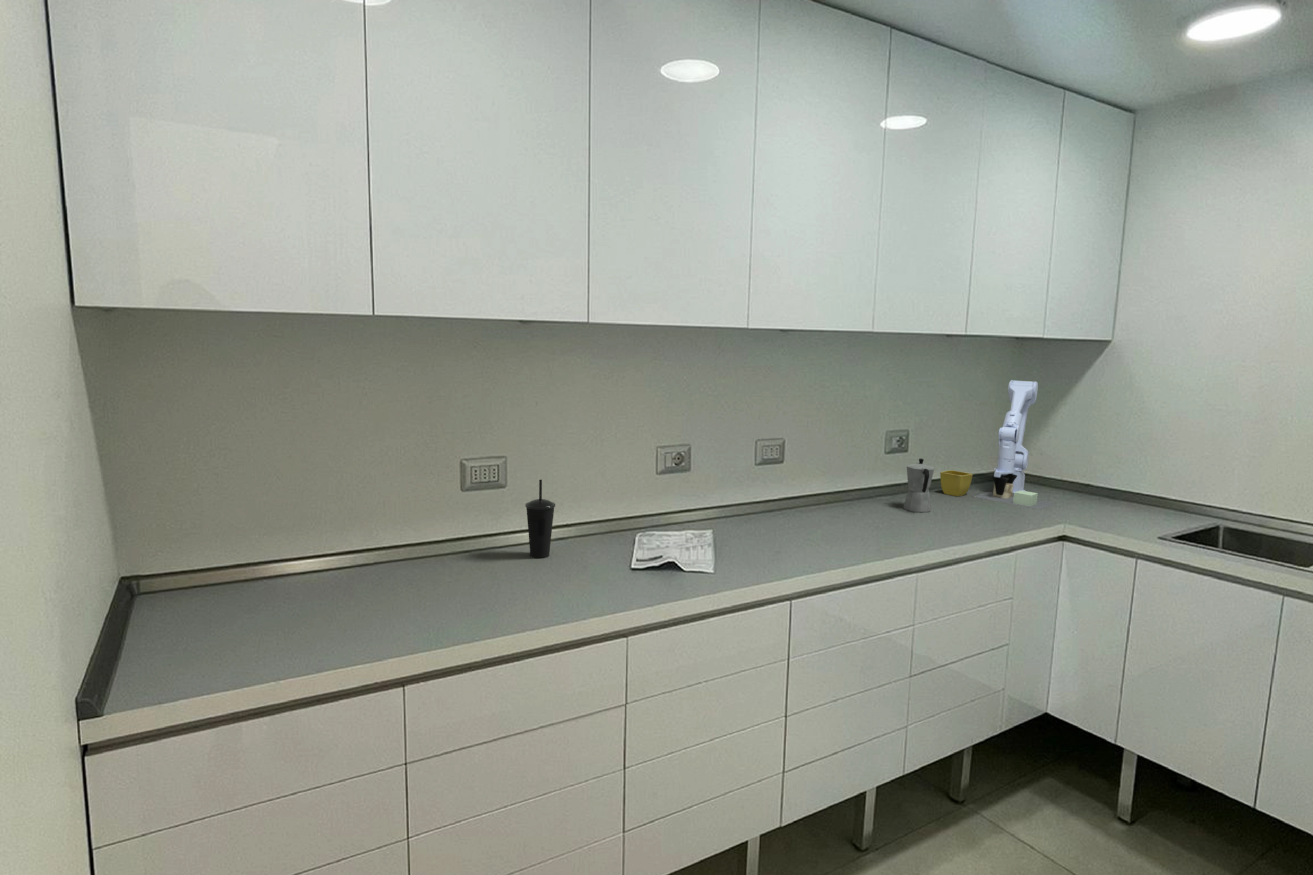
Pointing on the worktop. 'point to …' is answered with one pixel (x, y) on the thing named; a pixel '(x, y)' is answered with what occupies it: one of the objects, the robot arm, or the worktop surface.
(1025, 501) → the sage brick
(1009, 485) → the birch block
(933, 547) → the worktop surface
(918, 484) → the coffeepot
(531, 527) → the drinking cup
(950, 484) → the flower pot
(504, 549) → the worktop surface
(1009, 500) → the play mat
